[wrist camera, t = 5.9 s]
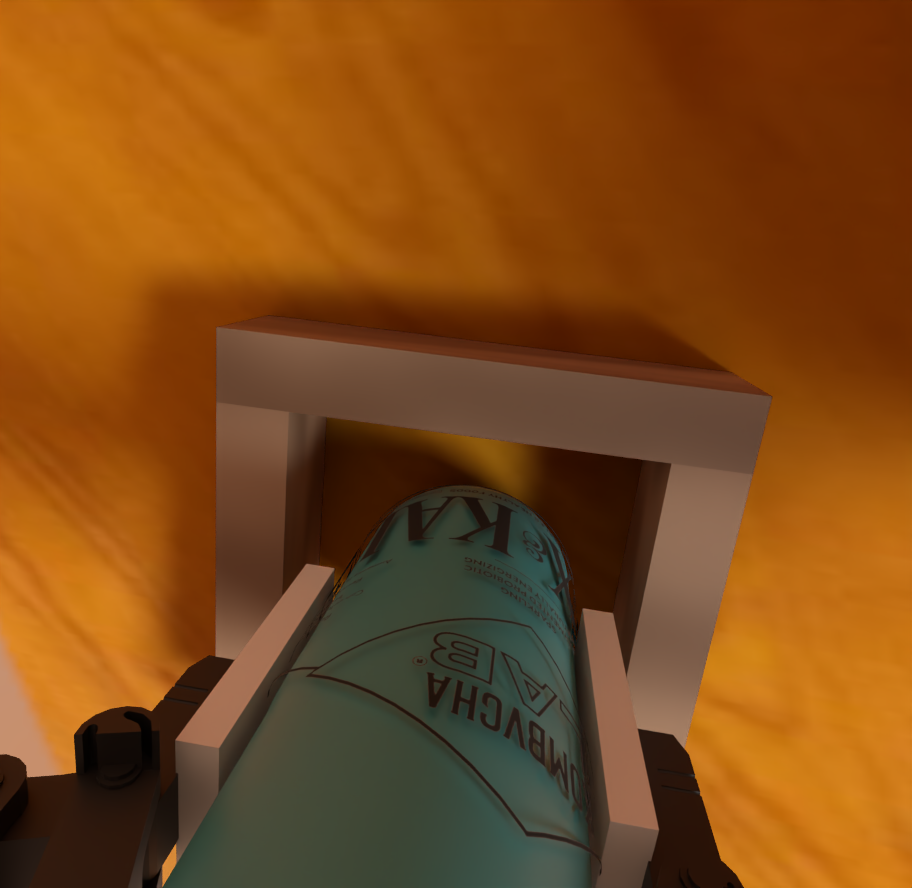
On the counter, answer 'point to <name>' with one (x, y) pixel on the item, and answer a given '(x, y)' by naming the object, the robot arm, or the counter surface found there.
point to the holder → (499, 418)
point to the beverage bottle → (419, 721)
